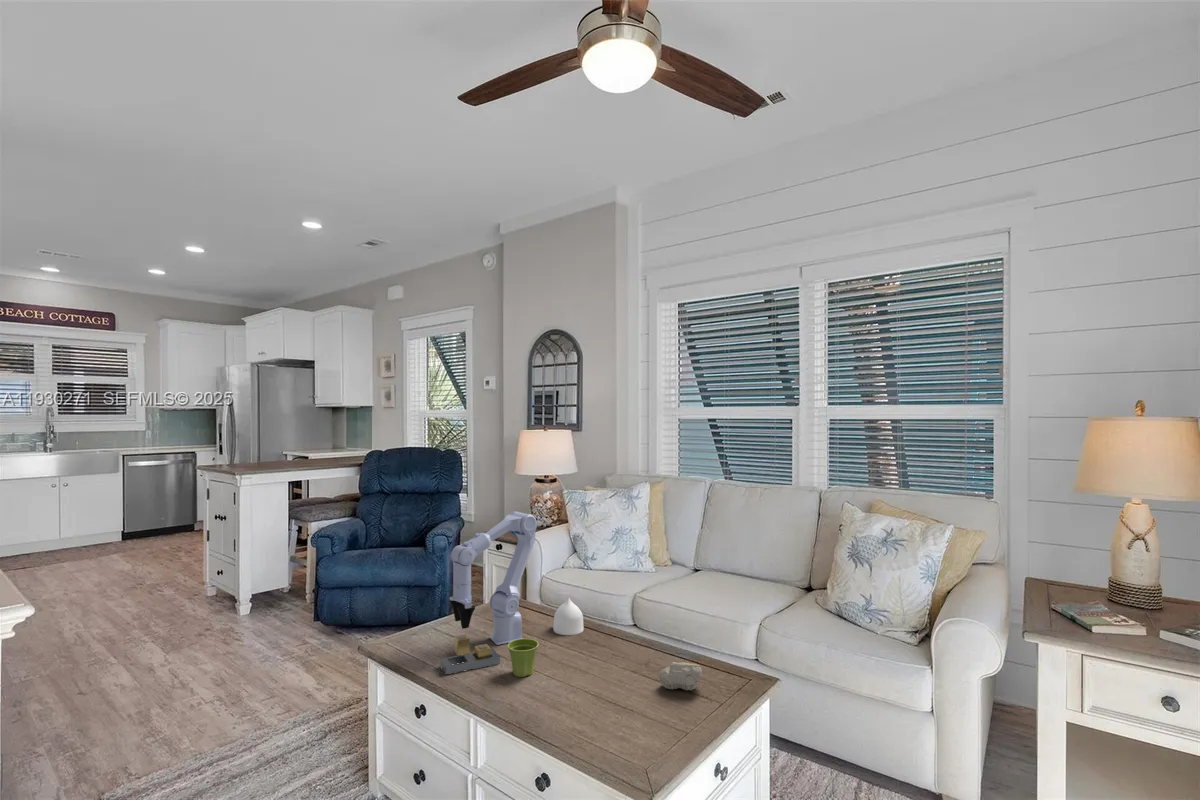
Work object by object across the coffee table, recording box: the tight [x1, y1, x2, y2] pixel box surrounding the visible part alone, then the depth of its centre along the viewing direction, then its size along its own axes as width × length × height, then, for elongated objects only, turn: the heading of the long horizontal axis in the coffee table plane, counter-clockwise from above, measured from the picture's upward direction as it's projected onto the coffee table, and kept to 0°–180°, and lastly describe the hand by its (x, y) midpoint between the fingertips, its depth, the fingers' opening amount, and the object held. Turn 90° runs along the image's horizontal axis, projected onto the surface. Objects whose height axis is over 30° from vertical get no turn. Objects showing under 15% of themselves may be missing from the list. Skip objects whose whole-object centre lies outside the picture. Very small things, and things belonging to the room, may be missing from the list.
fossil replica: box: [657, 661, 703, 692], centre depth 173 cm, size 12×8×10 cm
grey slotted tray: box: [439, 648, 501, 675], centre depth 188 cm, size 17×7×2 cm, turn 119°
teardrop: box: [552, 596, 585, 636], centre depth 219 cm, size 11×11×12 cm
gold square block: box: [453, 634, 471, 656], centre depth 198 cm, size 4×4×5 cm
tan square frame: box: [474, 643, 492, 660], centre depth 190 cm, size 4×4×5 cm
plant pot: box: [506, 638, 540, 678], centre depth 183 cm, size 9×9×9 cm
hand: (461, 624), depth 198 cm, fingers open, 7 cm apart
